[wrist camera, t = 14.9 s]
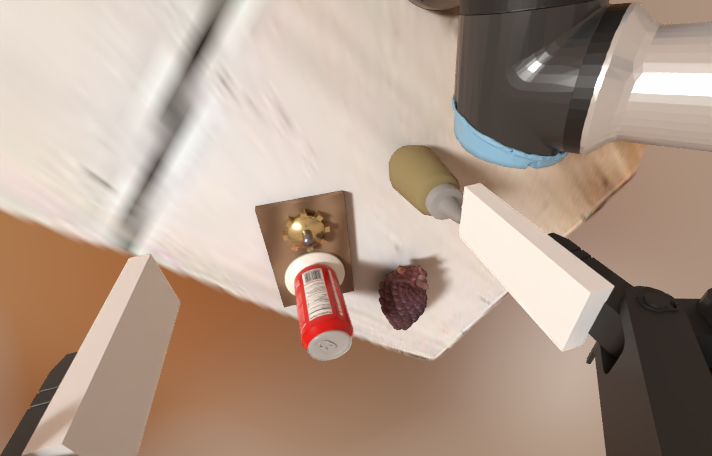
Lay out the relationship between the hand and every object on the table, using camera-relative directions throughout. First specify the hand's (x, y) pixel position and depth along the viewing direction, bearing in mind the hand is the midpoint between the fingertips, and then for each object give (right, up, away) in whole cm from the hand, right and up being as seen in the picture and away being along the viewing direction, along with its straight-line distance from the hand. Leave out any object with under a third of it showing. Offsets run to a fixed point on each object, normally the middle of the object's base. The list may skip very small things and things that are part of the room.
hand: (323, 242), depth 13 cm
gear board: (-7, -4, +43) cm, 44 cm away
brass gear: (-7, 0, +39) cm, 39 cm away
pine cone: (+9, -11, +54) cm, 55 cm away
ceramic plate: (-6, -8, +45) cm, 46 cm away
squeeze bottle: (+9, +11, +38) cm, 41 cm away
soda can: (-6, -8, +44) cm, 45 cm away
